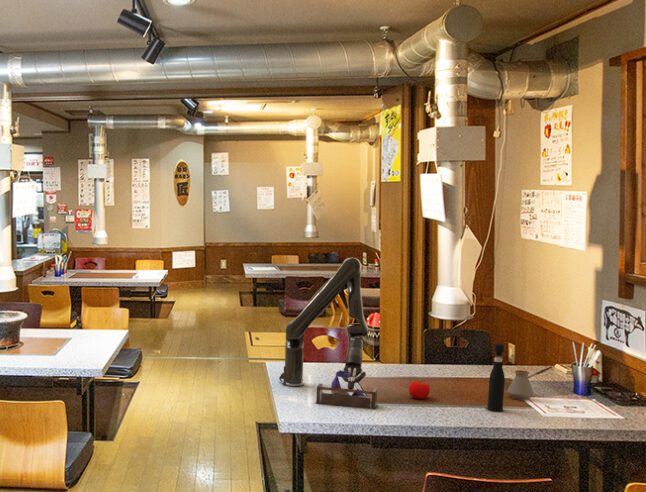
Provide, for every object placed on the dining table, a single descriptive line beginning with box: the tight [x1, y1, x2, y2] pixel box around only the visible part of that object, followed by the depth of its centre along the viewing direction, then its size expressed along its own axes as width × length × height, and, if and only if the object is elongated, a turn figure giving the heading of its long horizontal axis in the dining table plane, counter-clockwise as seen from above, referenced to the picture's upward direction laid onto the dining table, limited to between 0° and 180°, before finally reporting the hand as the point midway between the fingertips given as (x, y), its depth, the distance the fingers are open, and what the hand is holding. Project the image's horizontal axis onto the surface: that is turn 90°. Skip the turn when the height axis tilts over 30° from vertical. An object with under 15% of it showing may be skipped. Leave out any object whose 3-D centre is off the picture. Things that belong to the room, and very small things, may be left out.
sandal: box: [330, 370, 372, 404], centre depth 353 cm, size 8×20×15 cm, turn 89°
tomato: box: [408, 380, 431, 400], centre depth 360 cm, size 9×10×8 cm
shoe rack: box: [315, 383, 378, 410], centre depth 350 cm, size 26×7×8 cm, turn 69°
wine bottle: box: [486, 343, 506, 413], centre depth 338 cm, size 6×6×30 cm
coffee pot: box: [506, 366, 555, 401], centre depth 359 cm, size 21×12×15 cm, turn 97°
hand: (350, 389), depth 355 cm, fingers closed
